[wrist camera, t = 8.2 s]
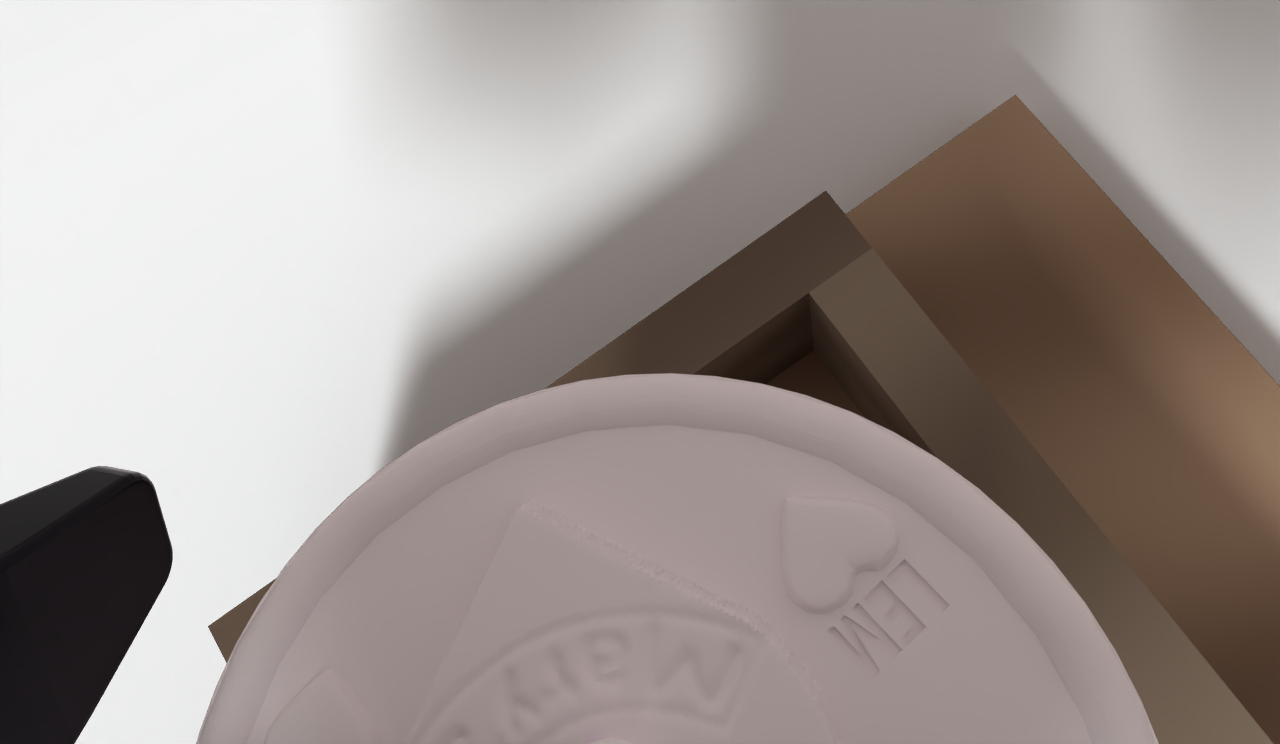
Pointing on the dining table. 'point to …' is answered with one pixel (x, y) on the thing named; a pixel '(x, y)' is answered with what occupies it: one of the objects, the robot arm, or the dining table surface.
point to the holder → (1026, 397)
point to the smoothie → (671, 590)
